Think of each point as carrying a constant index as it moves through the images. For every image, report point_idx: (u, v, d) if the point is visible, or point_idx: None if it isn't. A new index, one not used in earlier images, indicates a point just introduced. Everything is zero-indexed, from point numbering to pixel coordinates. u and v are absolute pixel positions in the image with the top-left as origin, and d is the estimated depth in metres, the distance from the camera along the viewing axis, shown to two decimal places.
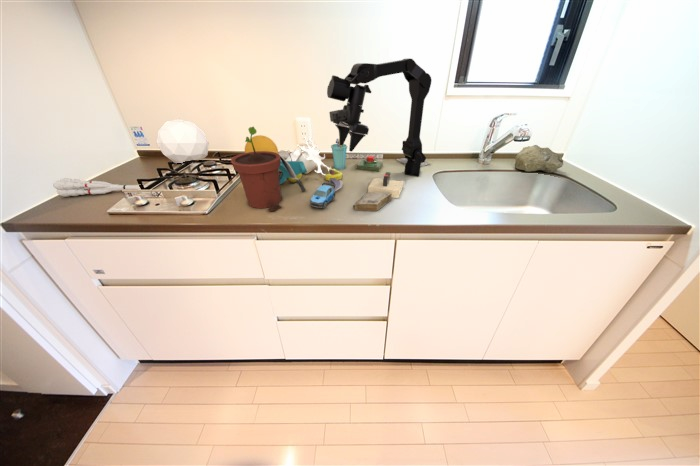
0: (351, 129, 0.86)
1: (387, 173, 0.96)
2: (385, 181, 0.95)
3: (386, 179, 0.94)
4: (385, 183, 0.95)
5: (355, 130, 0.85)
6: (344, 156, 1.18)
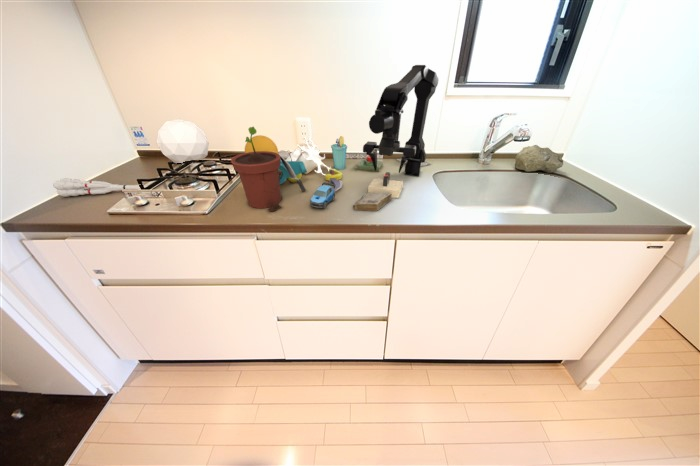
0: (409, 155, 0.86)
1: (387, 173, 0.96)
2: (385, 181, 0.95)
3: (386, 179, 0.94)
4: (385, 183, 0.95)
5: (414, 154, 0.86)
6: (344, 156, 1.18)
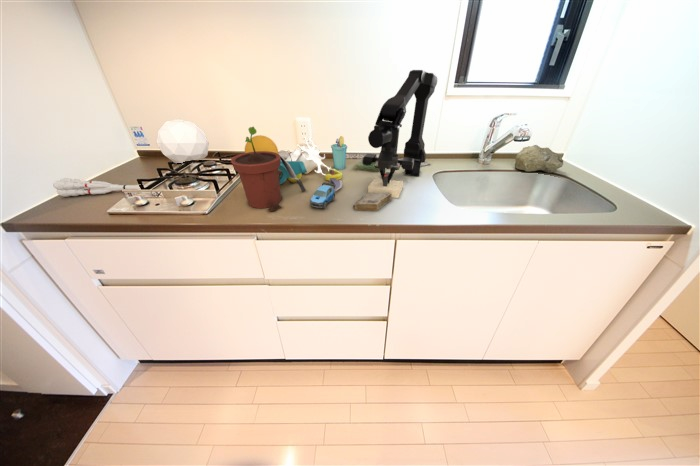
0: (407, 168, 0.89)
1: (387, 173, 0.96)
2: (385, 181, 0.95)
3: (386, 179, 0.94)
4: (385, 183, 0.95)
5: (412, 167, 0.89)
6: (344, 156, 1.18)
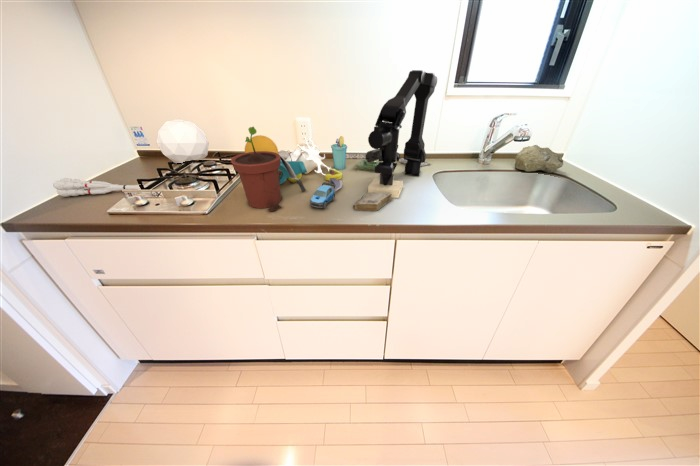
0: None
1: None
2: (380, 178, 0.97)
3: (380, 176, 0.97)
4: None
5: (376, 171, 0.87)
6: (344, 156, 1.18)
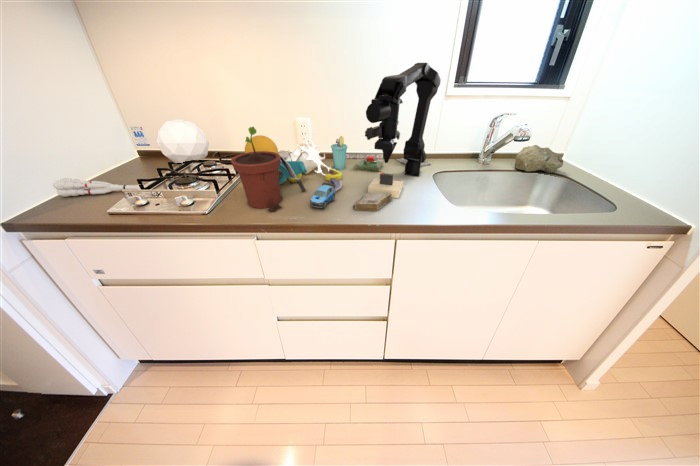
0: None
1: (389, 174, 0.95)
2: (380, 178, 0.97)
3: (380, 176, 0.97)
4: None
5: (376, 147, 0.85)
6: (344, 156, 1.18)
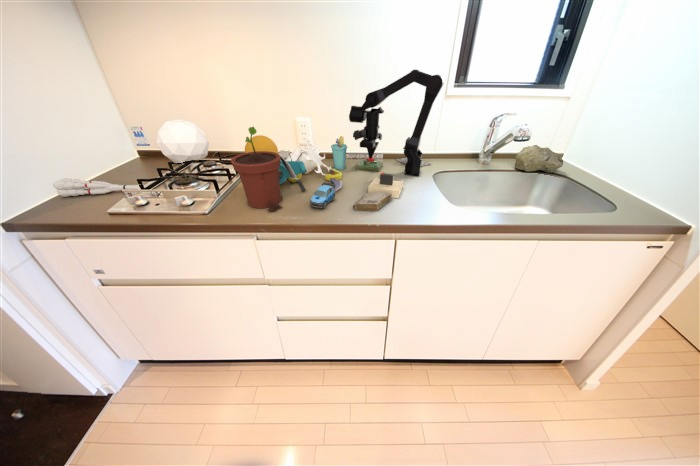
0: None
1: (389, 174, 0.95)
2: (380, 178, 0.97)
3: (380, 176, 0.97)
4: None
5: (361, 145, 1.09)
6: (344, 156, 1.18)
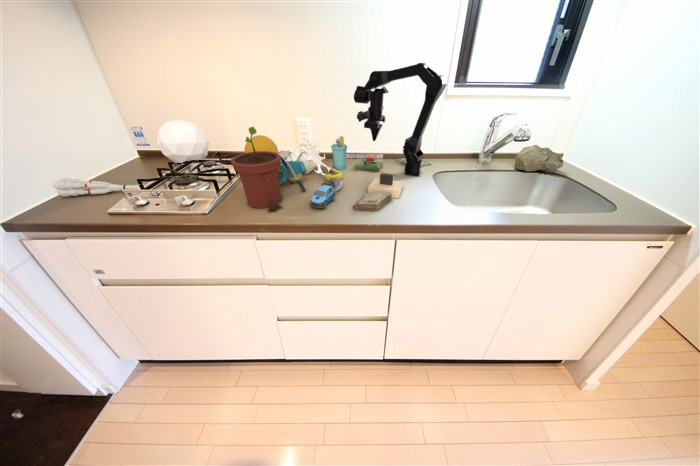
0: None
1: (389, 174, 0.95)
2: (380, 178, 0.97)
3: (380, 176, 0.97)
4: None
5: (365, 126, 1.08)
6: (344, 156, 1.18)
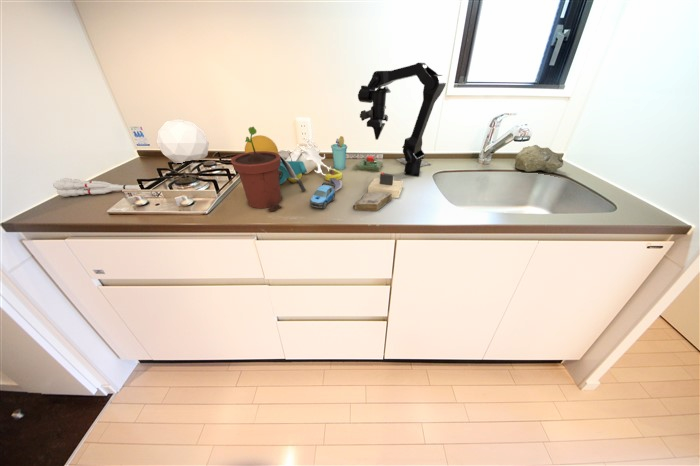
0: None
1: (389, 174, 0.95)
2: (380, 178, 0.97)
3: (380, 176, 0.97)
4: None
5: (368, 125, 1.10)
6: (344, 156, 1.18)
